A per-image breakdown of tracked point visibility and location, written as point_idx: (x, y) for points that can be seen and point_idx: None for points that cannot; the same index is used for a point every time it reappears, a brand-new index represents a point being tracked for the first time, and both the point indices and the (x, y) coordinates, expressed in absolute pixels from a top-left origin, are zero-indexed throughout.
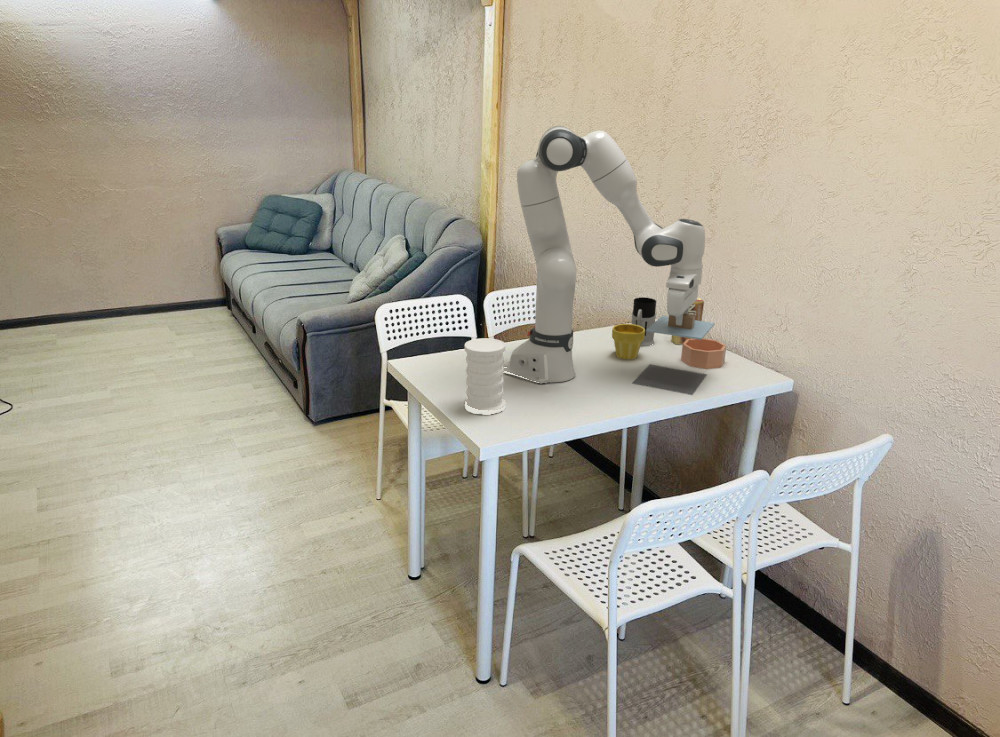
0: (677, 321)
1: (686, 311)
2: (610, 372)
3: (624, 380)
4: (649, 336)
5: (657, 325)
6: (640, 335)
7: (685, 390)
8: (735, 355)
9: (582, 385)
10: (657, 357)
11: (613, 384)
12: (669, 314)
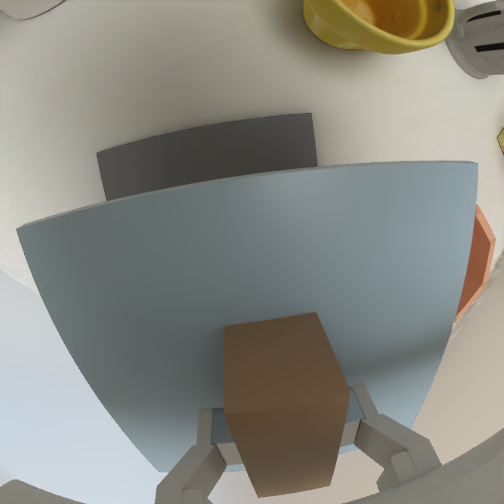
0: (199, 436)
1: (376, 456)
2: (152, 38)
3: (113, 114)
4: (482, 63)
5: (170, 249)
6: (369, 37)
7: None
8: None
9: (21, 61)
10: (397, 112)
11: (66, 111)
12: (14, 484)
